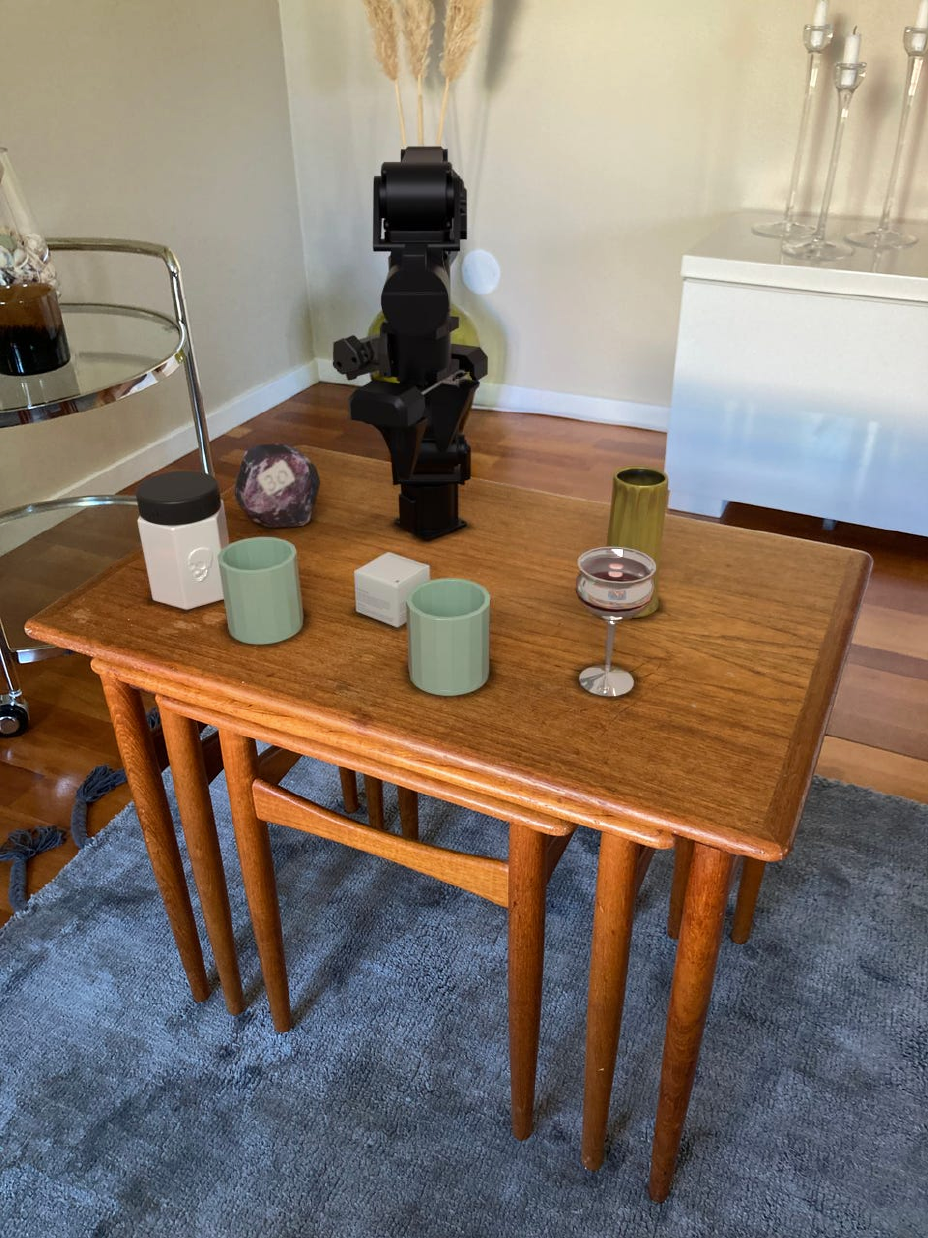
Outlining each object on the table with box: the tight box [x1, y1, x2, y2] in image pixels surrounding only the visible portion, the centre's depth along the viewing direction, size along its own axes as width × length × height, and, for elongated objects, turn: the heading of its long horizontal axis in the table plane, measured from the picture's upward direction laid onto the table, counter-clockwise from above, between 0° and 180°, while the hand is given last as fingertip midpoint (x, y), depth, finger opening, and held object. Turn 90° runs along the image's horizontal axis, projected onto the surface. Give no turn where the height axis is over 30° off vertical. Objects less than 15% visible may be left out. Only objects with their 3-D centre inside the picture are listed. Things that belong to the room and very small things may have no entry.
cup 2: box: [406, 577, 492, 697], centre depth 87 cm, size 7×7×8 cm
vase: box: [606, 465, 669, 619], centre depth 96 cm, size 6×6×14 cm
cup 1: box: [217, 536, 304, 645], centre depth 94 cm, size 7×7×8 cm
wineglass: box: [574, 546, 656, 697], centre depth 85 cm, size 7×7×12 cm
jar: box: [134, 470, 230, 611], centre depth 99 cm, size 9×8×12 cm
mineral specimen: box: [233, 443, 321, 529], centre depth 115 cm, size 10×10×10 cm
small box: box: [353, 551, 431, 629], centre depth 98 cm, size 6×6×5 cm
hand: (424, 464), depth 98 cm, fingers open, 8 cm apart
